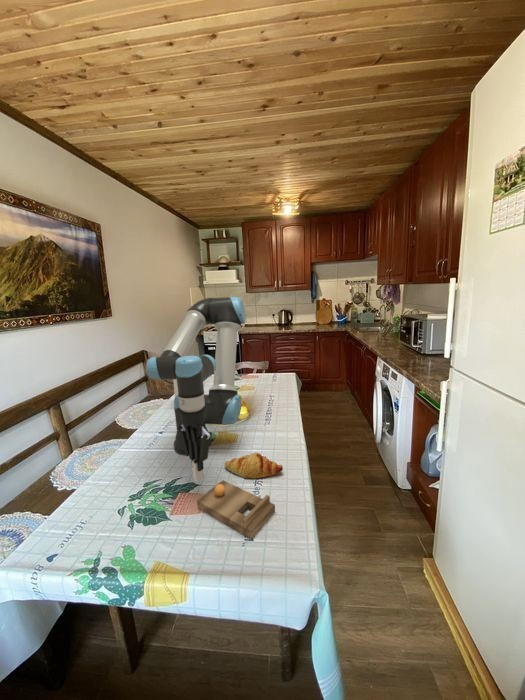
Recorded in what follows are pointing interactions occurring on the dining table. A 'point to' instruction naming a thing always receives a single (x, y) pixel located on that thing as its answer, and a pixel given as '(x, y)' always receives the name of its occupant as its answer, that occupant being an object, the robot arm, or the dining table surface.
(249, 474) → the croissant
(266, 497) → the wooden tray with slot
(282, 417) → the dining table surface
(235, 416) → the robot arm
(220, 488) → the ball
